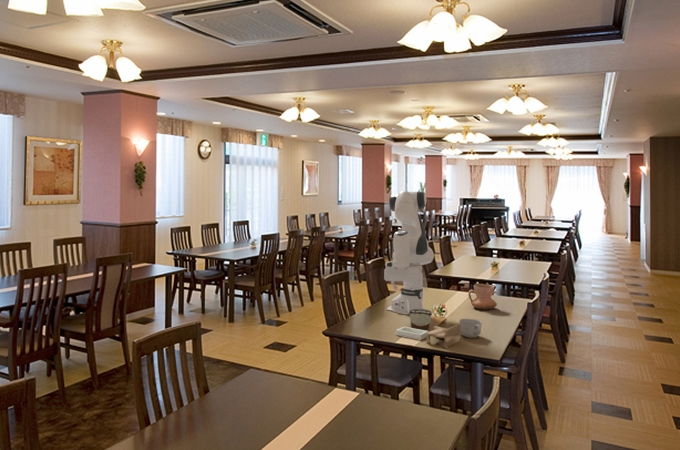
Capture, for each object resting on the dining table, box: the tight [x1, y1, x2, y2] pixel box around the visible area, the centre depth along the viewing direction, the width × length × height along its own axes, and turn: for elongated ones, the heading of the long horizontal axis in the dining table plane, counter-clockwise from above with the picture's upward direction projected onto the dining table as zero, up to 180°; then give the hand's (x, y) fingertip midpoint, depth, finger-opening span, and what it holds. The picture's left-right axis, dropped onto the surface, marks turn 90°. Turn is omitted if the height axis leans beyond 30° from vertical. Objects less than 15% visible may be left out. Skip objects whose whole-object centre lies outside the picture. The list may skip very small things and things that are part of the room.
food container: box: [408, 308, 433, 332], centre depth 269 cm, size 12×6×10 cm, turn 71°
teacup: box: [459, 318, 483, 339], centre depth 255 cm, size 14×11×8 cm
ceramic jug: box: [467, 284, 499, 311], centre depth 315 cm, size 18×14×14 cm
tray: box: [395, 326, 430, 341], centre depth 257 cm, size 14×8×3 cm, turn 53°
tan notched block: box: [426, 323, 461, 348], centre depth 247 cm, size 14×14×8 cm
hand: (403, 289), depth 262 cm, fingers open, 8 cm apart
